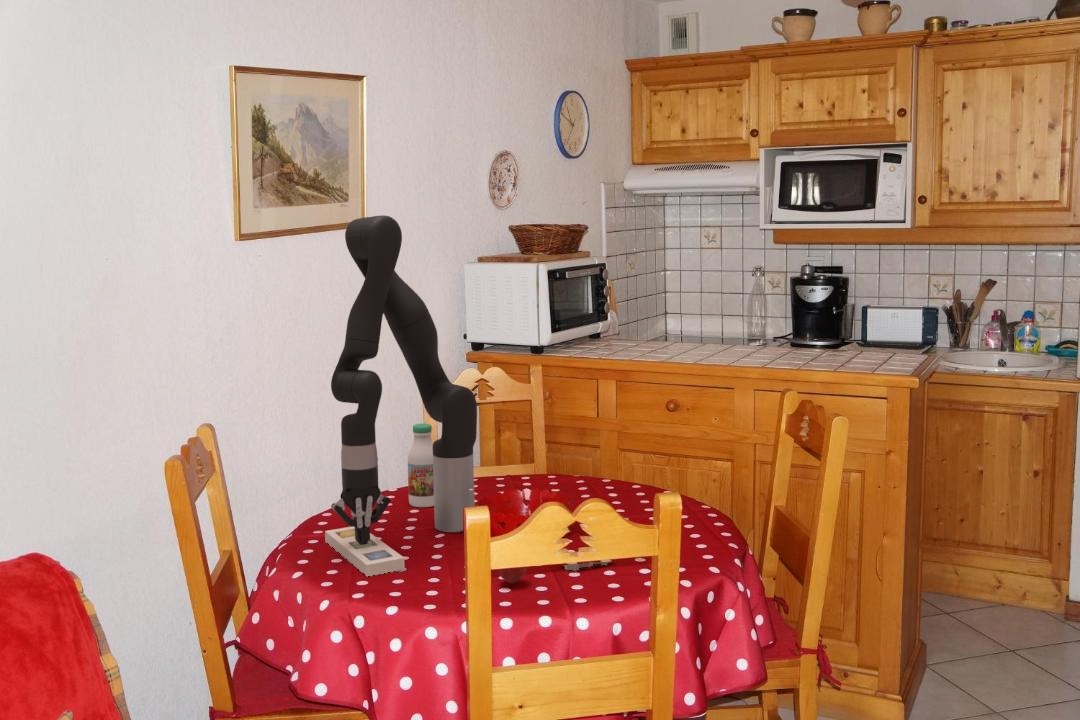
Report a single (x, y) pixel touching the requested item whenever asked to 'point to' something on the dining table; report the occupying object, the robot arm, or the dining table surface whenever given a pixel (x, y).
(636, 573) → the dining table surface
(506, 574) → the onion
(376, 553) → the blue button
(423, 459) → the milk bottle
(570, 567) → the egg carton
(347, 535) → the ochre button
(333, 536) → the button panel
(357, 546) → the sage button
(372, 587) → the dining table surface
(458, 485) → the robot arm
